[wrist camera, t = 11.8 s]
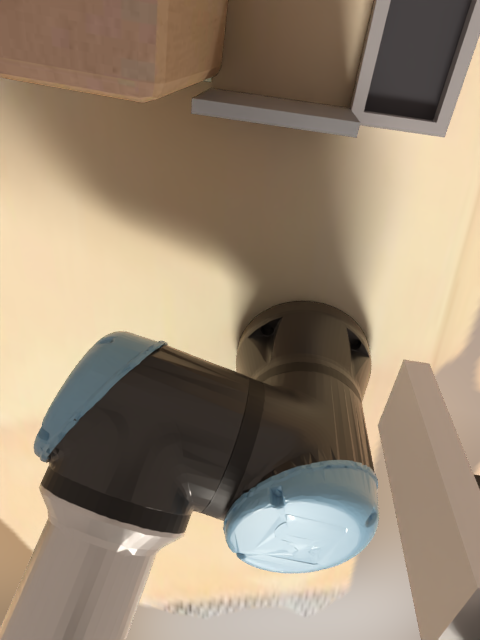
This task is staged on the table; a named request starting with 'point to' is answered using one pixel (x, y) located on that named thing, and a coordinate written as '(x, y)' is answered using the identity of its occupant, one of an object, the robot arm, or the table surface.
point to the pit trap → (415, 63)
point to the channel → (276, 112)
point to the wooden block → (112, 44)
